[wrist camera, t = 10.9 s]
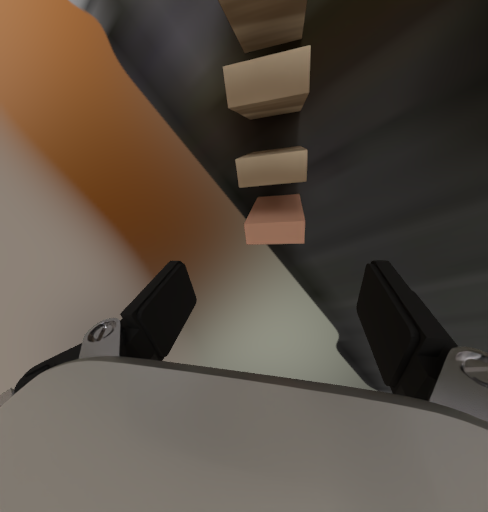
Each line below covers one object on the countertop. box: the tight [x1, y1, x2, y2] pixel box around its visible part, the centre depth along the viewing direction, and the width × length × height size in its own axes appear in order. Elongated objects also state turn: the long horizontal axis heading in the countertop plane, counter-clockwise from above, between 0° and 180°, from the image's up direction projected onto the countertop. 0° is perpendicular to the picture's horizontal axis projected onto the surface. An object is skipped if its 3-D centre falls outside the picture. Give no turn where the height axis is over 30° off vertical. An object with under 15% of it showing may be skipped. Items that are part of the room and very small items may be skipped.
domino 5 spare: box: [244, 194, 305, 245], centre depth 20 cm, size 2×5×9 cm, turn 97°
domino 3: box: [223, 45, 311, 120], centre depth 15 cm, size 2×5×9 cm, turn 98°
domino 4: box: [235, 146, 307, 188], centre depth 18 cm, size 2×5×9 cm, turn 97°
